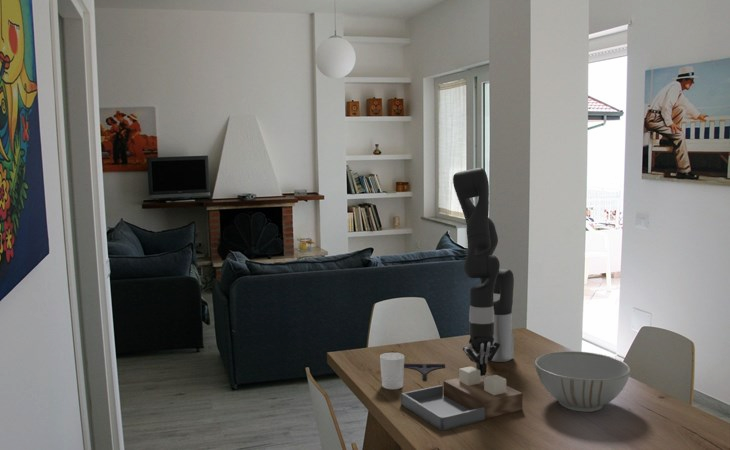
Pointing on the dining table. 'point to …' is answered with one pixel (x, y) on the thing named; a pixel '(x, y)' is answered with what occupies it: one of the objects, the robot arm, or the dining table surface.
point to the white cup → (392, 370)
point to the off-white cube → (495, 384)
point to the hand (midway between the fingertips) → (481, 374)
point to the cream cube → (469, 375)
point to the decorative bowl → (582, 378)
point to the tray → (440, 408)
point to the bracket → (424, 368)
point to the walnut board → (483, 397)
